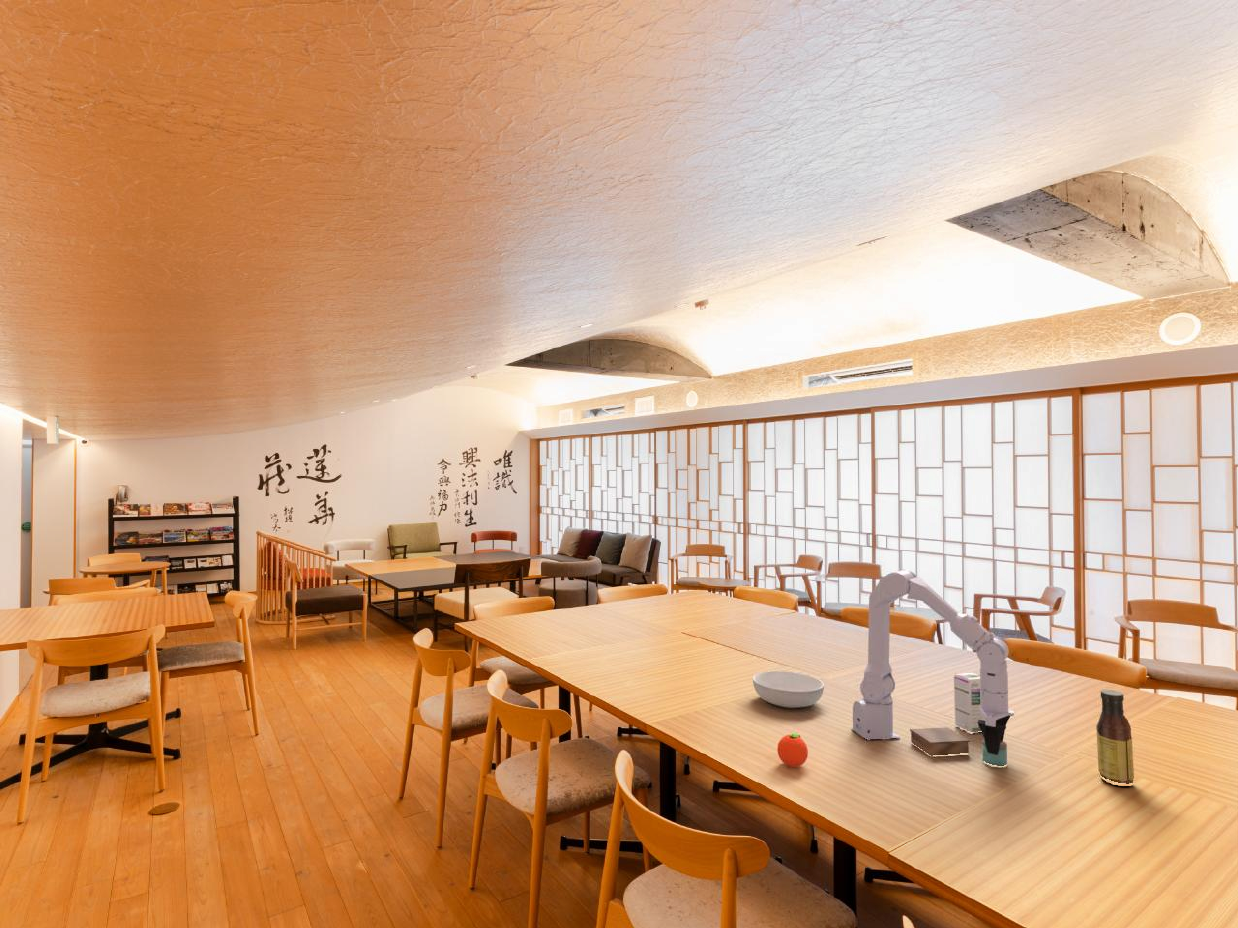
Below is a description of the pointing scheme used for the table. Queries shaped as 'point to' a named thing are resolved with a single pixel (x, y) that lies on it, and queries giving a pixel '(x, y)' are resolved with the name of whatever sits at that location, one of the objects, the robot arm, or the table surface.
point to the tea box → (939, 741)
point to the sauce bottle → (1114, 740)
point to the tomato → (792, 750)
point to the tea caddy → (995, 759)
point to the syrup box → (967, 701)
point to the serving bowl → (788, 688)
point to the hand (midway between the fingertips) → (994, 747)
